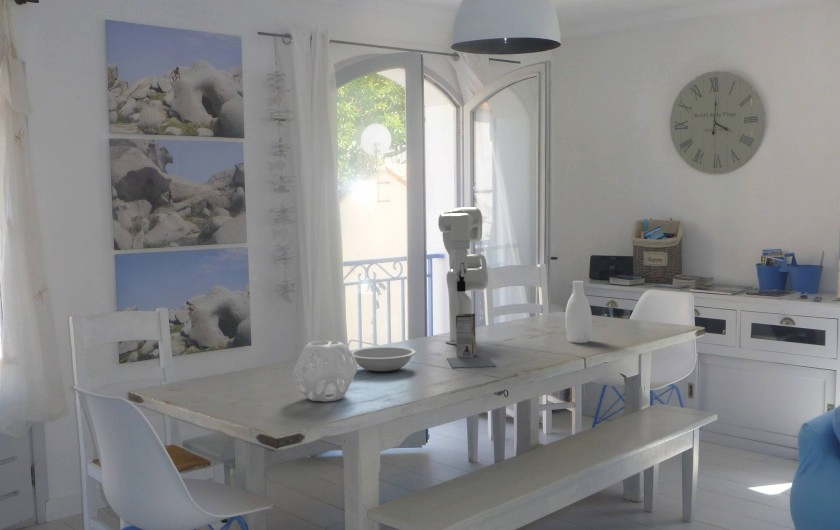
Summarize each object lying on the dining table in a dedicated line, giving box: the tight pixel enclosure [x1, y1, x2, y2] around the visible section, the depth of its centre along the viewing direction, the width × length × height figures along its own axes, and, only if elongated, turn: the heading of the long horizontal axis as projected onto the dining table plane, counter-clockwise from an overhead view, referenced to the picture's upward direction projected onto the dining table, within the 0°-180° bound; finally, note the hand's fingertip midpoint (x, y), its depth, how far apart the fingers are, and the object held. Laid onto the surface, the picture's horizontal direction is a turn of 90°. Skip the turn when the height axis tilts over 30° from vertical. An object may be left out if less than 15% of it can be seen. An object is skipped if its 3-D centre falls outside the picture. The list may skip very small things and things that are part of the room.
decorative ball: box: [292, 340, 358, 403], centre depth 264 cm, size 20×20×17 cm
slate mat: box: [446, 356, 497, 369], centre depth 318 cm, size 18×16×1 cm
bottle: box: [564, 280, 593, 344], centre depth 359 cm, size 11×11×25 cm
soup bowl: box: [350, 346, 417, 372], centre depth 307 cm, size 24×24×7 cm
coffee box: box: [455, 313, 477, 358], centre depth 330 cm, size 9×6×16 cm
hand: (461, 291), depth 341 cm, fingers closed
